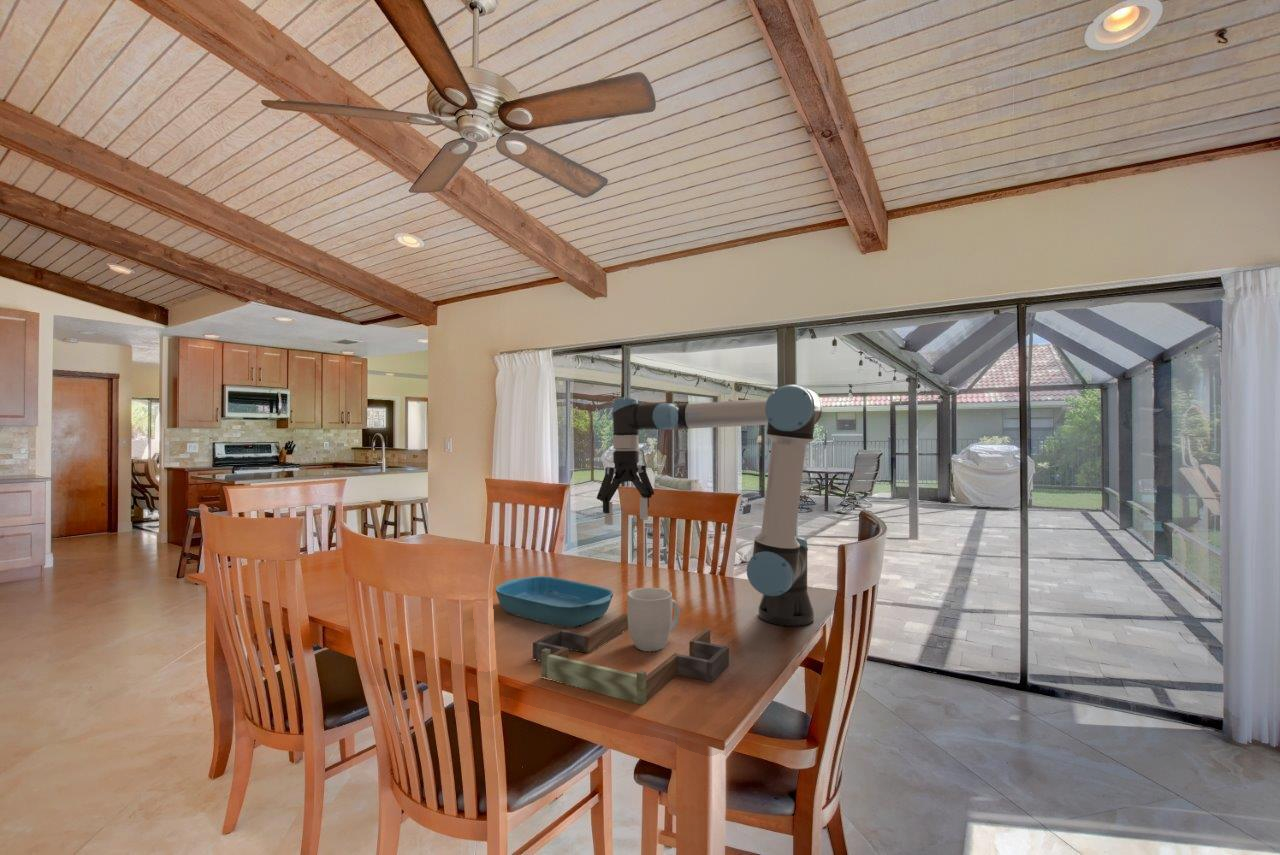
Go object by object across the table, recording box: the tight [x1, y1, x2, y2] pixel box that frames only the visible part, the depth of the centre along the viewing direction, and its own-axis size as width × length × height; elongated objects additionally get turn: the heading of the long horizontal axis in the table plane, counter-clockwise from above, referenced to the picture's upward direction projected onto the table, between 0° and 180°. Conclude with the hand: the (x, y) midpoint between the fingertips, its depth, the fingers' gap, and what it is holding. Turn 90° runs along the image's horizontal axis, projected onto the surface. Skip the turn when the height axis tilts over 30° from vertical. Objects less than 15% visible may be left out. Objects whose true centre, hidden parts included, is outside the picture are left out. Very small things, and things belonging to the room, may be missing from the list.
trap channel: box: [532, 613, 730, 706], centre depth 134 cm, size 40×35×6 cm
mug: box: [626, 587, 681, 653], centre depth 143 cm, size 15×11×13 cm
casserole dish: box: [495, 575, 614, 628], centre depth 169 cm, size 37×22×7 cm, turn 57°
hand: (626, 521), depth 172 cm, fingers open, 13 cm apart
